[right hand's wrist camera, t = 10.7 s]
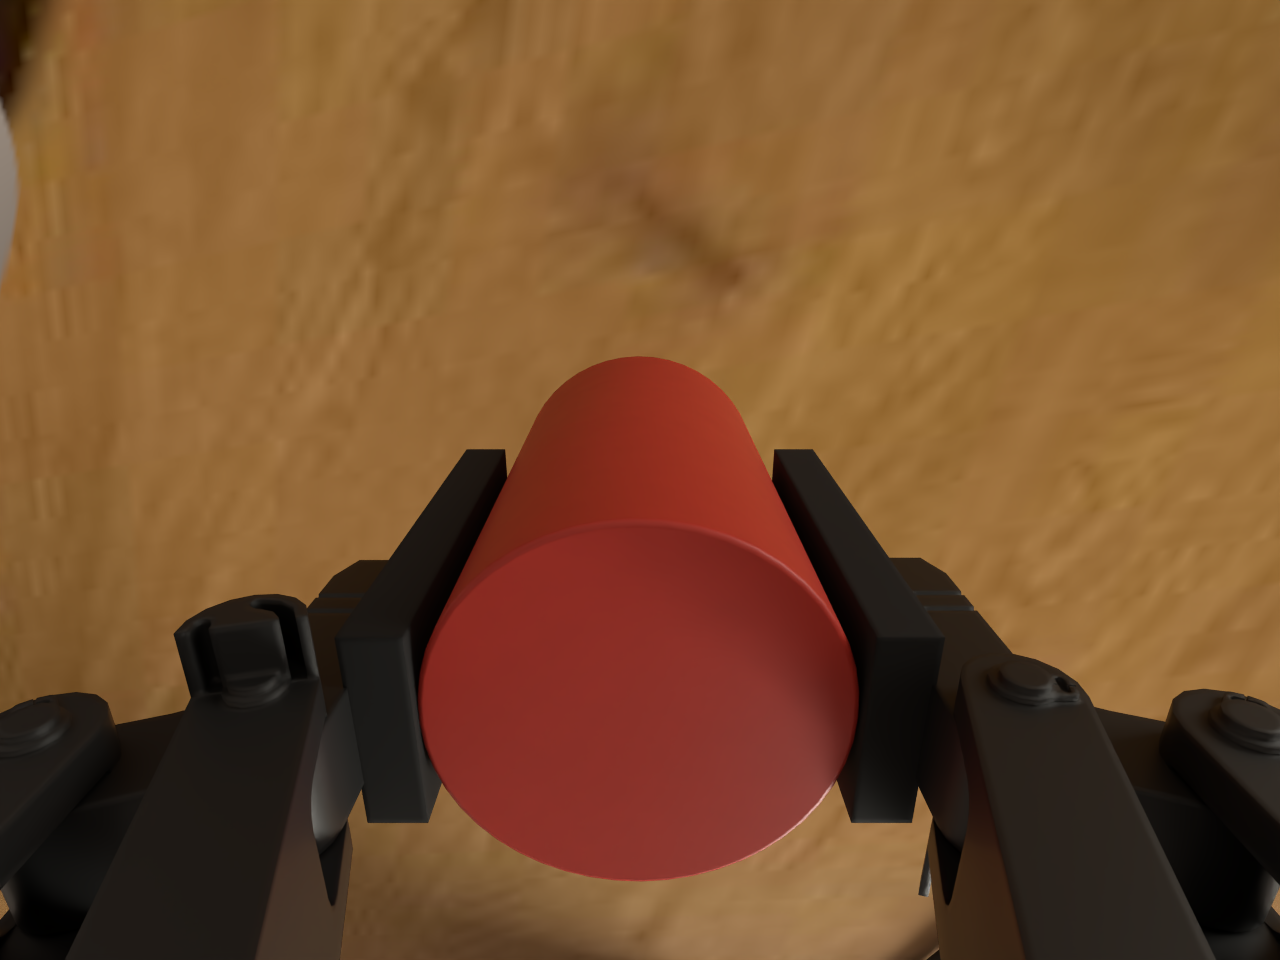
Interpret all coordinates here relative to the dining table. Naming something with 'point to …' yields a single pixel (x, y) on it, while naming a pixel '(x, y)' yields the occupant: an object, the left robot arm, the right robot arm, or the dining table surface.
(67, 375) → the dining table surface
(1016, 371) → the dining table surface
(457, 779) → the can
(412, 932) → the dining table surface
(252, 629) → the right robot arm
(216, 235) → the dining table surface
